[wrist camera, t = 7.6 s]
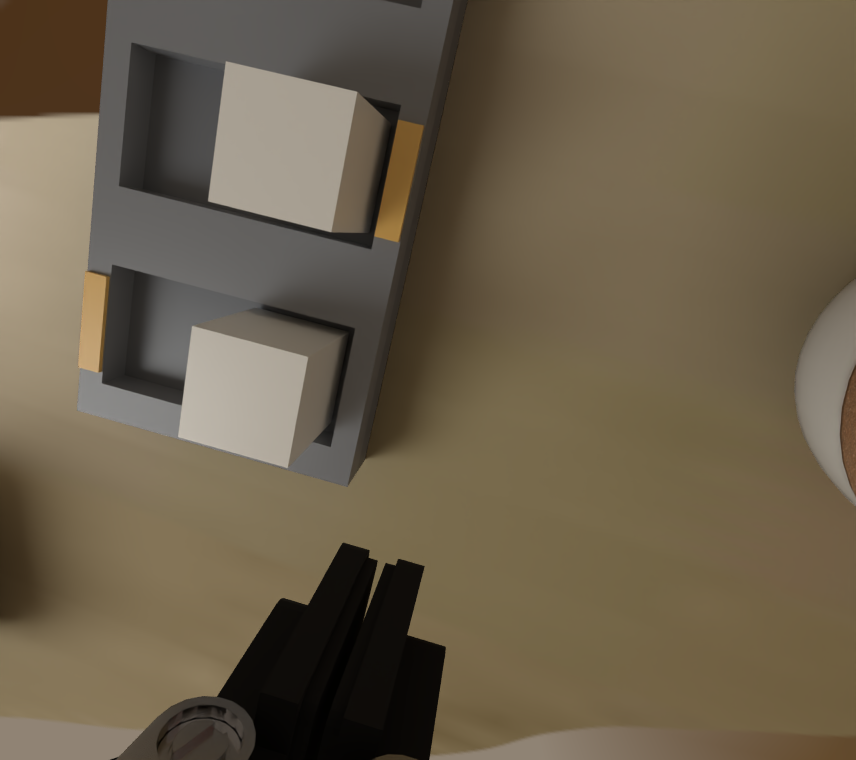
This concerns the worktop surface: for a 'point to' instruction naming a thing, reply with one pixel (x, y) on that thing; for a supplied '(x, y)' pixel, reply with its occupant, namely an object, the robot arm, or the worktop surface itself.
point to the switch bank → (241, 230)
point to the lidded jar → (831, 390)
